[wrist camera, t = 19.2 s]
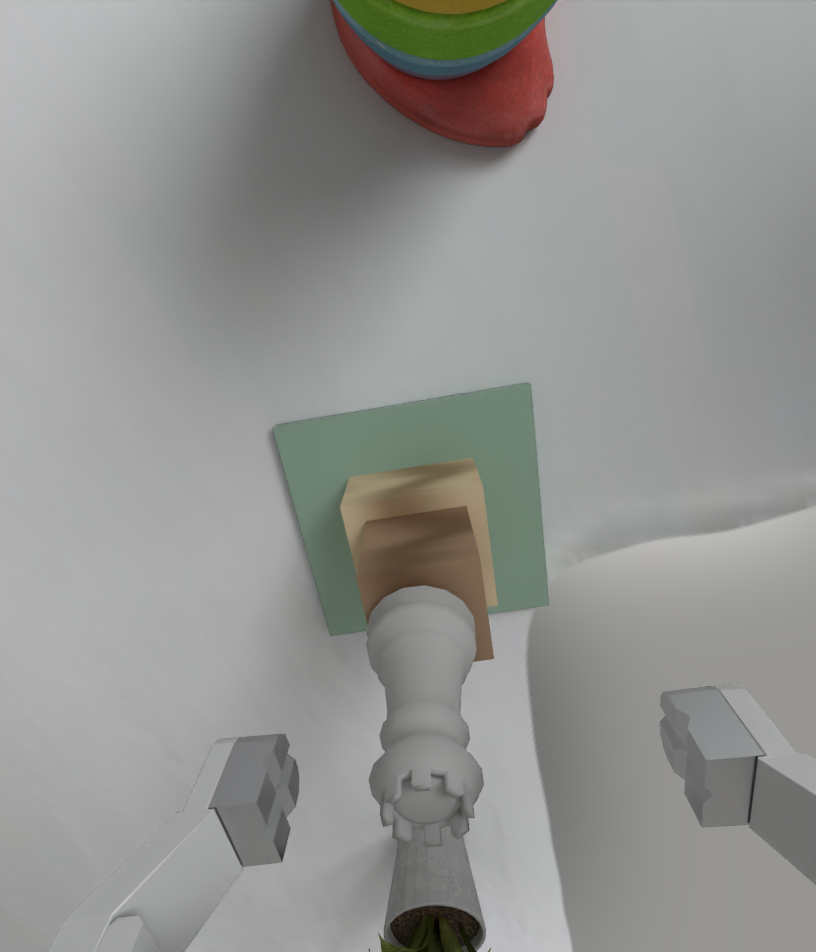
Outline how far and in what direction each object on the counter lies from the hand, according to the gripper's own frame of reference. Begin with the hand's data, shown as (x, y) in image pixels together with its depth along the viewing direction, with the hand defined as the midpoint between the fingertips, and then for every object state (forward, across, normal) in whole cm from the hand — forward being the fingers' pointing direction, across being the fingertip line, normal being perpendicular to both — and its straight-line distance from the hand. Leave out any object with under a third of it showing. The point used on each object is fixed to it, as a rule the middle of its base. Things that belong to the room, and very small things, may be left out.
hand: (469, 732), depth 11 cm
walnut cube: (+14, +2, +4) cm, 15 cm away
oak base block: (+18, +2, +4) cm, 18 cm away
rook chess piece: (+9, +2, +4) cm, 10 cm away
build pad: (+18, +2, +4) cm, 19 cm away
